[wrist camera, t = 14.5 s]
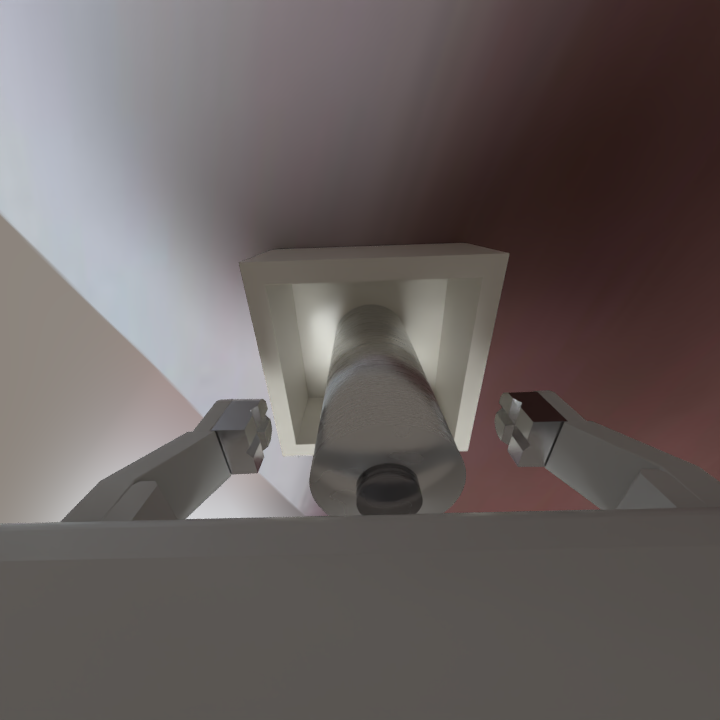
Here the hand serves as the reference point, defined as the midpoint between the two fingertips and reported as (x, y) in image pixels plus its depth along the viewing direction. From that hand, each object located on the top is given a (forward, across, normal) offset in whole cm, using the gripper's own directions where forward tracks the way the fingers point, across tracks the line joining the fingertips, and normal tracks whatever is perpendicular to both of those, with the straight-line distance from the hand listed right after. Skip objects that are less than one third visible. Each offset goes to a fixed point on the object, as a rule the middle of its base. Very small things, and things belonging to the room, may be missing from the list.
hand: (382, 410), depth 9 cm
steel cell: (+7, 0, 0) cm, 7 cm away
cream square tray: (+7, 0, 0) cm, 7 cm away
